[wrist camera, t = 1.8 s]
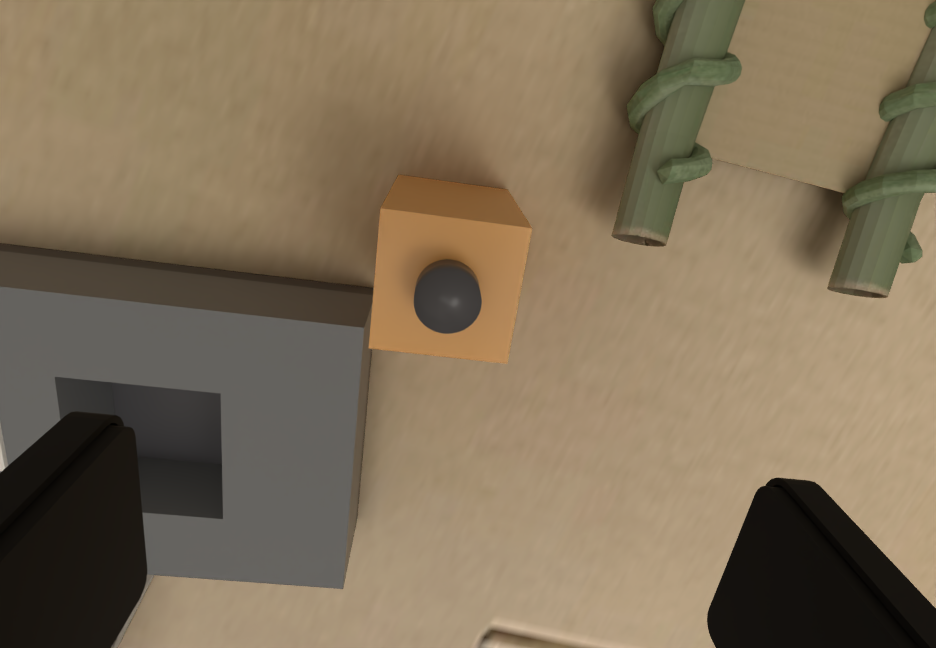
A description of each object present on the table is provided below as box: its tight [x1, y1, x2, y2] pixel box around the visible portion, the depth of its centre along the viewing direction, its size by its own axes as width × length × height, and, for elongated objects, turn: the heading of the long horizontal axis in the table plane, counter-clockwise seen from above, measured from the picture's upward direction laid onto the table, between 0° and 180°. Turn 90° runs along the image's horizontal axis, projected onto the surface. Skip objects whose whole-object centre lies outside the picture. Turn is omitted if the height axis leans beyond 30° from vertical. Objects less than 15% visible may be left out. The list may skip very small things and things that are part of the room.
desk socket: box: [0, 243, 374, 589], centre depth 27 cm, size 18×14×5 cm
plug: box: [369, 175, 532, 364], centre depth 23 cm, size 5×5×9 cm
